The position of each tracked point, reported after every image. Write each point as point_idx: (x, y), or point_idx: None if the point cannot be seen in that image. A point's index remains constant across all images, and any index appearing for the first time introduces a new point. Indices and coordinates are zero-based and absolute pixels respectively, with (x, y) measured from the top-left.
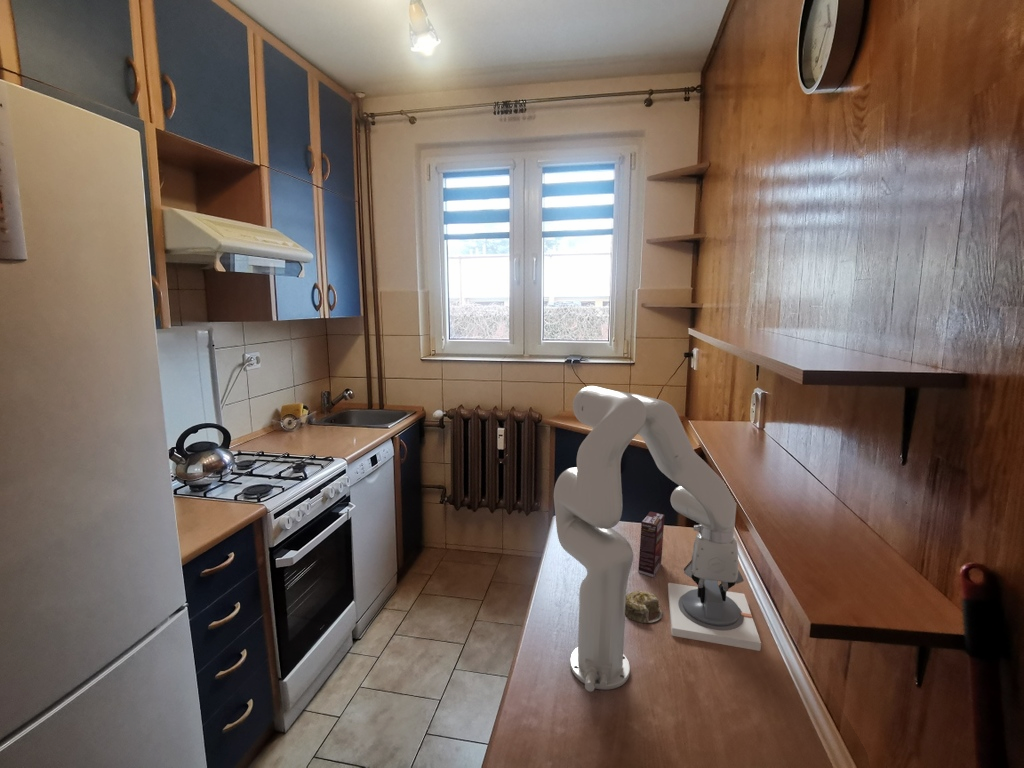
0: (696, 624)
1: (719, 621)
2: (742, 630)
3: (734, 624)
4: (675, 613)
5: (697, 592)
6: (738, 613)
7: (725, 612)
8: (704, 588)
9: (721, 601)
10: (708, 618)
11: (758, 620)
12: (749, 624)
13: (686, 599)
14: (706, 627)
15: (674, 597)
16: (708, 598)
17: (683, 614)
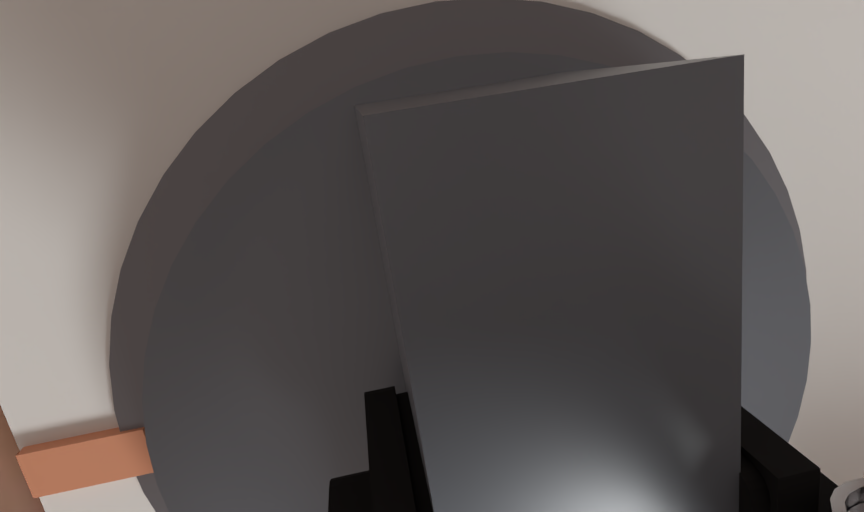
0: (639, 18)
1: (387, 82)
2: (97, 138)
3: (203, 210)
4: (846, 136)
5: None
6: (154, 385)
7: (319, 327)
8: (766, 506)
9: (415, 204)
10: (536, 74)
11: (13, 502)
12: (32, 304)
13: (770, 374)
14: (528, 1)
15: (822, 413)
16: (707, 194)
17: (766, 155)
